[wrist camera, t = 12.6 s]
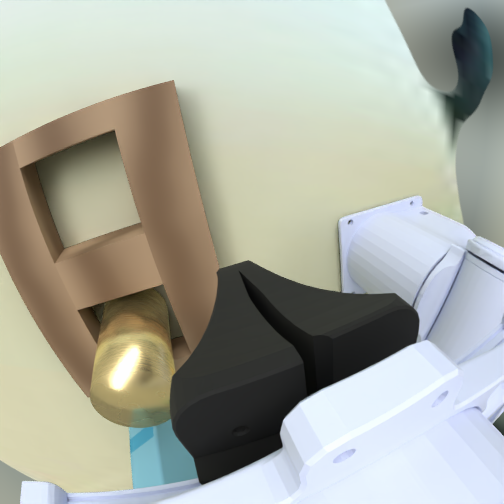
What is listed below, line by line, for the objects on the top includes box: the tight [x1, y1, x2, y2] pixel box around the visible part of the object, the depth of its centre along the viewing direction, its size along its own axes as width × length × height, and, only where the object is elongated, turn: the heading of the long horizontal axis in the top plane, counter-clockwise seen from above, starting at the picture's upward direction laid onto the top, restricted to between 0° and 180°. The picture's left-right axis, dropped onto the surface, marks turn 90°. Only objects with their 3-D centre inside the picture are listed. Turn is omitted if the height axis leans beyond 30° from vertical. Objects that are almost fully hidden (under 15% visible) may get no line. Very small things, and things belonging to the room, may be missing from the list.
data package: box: [129, 419, 198, 489], centre depth 23 cm, size 12×4×12 cm, turn 44°
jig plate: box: [0, 80, 220, 397], centre depth 19 cm, size 14×20×2 cm
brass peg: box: [90, 288, 175, 428], centre depth 18 cm, size 5×5×9 cm
